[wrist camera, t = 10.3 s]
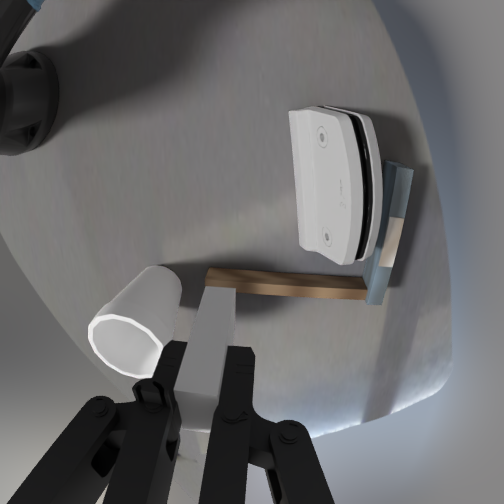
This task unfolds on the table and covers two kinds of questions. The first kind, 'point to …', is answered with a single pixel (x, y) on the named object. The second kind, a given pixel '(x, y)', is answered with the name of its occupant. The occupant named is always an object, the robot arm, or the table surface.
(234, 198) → the table surface
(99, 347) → the foam cup
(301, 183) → the white piece
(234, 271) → the wooden handled mallet
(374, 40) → the table surface
